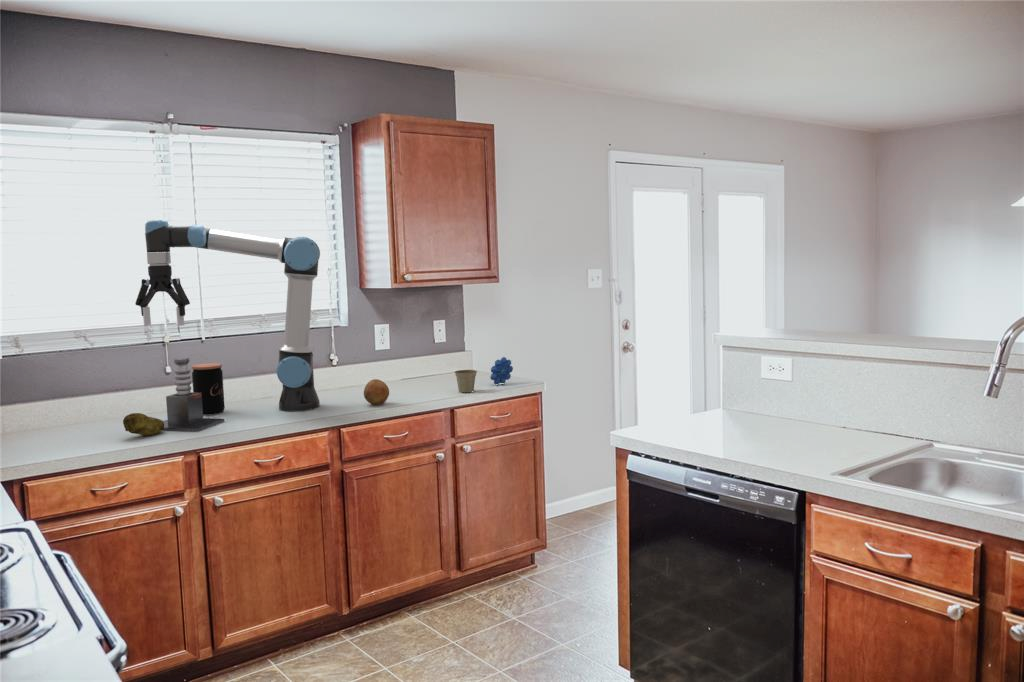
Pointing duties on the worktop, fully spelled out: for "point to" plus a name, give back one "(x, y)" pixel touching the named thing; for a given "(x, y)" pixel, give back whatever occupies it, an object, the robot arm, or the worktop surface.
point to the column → (182, 376)
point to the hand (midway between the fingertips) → (164, 325)
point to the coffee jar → (209, 386)
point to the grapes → (501, 371)
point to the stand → (187, 413)
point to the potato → (142, 424)
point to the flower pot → (465, 380)
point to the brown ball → (376, 392)
